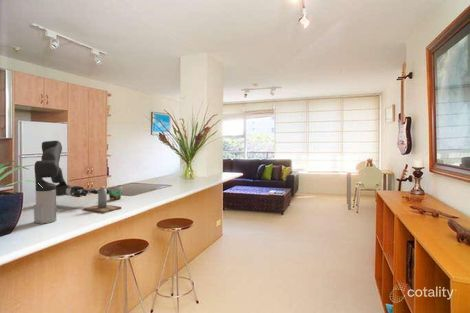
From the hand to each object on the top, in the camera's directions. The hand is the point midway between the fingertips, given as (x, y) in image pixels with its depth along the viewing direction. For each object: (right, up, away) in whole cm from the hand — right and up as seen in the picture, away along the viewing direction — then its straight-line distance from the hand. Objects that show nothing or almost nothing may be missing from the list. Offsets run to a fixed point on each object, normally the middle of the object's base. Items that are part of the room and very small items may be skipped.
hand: (91, 193), depth 184 cm
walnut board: (+9, -10, -4) cm, 14 cm away
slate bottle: (+9, -9, -4) cm, 13 cm away
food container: (+5, -9, +28) cm, 29 cm away
